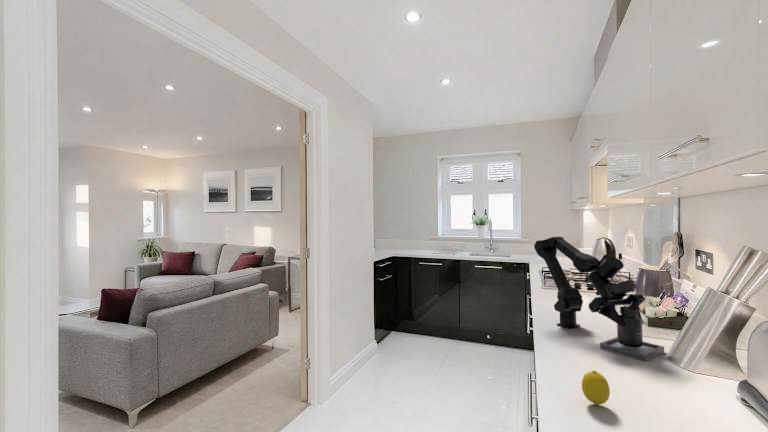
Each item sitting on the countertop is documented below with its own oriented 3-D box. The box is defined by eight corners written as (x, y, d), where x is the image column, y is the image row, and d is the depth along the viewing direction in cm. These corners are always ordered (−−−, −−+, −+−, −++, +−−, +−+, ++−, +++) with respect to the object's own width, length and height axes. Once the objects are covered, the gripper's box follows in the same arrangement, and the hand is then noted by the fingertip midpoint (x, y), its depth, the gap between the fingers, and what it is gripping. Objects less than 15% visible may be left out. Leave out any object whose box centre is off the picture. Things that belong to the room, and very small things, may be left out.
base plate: (620, 340, 119) (619, 335, 119) (664, 352, 107) (664, 346, 107) (600, 348, 112) (599, 343, 112) (645, 361, 101) (644, 355, 101)
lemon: (599, 398, 81) (597, 365, 81) (616, 411, 75) (614, 375, 75) (577, 399, 80) (575, 366, 81) (592, 412, 75) (590, 376, 75)
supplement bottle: (645, 349, 105) (643, 311, 106) (619, 346, 109) (618, 309, 109) (640, 342, 112) (639, 306, 112) (616, 339, 115) (614, 304, 115)
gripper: (593, 273, 113) (624, 314, 102) (639, 270, 116) (673, 310, 105) (577, 292, 120) (604, 332, 109) (620, 289, 124) (650, 327, 113)
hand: (633, 325), depth 109 cm, fingers closed on supplement bottle, 7 cm apart
